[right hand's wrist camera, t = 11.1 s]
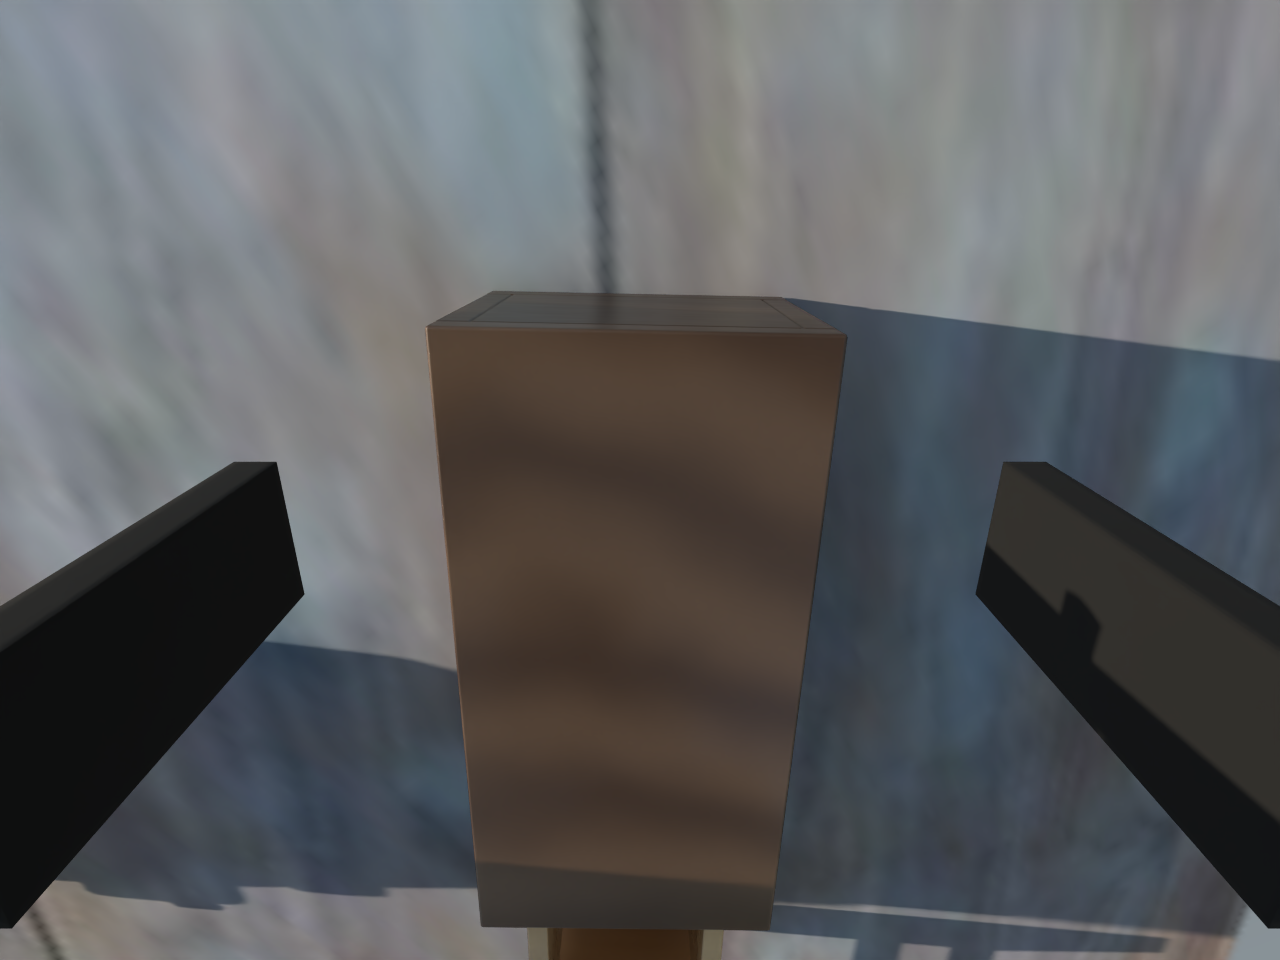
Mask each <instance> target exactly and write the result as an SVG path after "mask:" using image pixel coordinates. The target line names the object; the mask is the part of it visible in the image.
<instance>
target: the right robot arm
mask: <svg viewBox="0 0 1280 960" xmlns="http://www.w3.org/2000/svg"><path fill="white" fill-rule="evenodd" d="M303 595H304V590H303V585H302V580H301V576H300V571H299V566H298V561H297V557H296V552H295V547H294V542H293V538H292V533H291V528H290V523H289V519H288V514H287V509H286V505H285V500H284V495H283V490H282V486H281V481H280V476H279V471H278V467H277V462H233V463H232V464H230V465H228V466H227V467H225V468H223V469H222V470H220V471H219V472H217V473H215V474H214V475H212V476H210V477H209V478H207V479H206V480H204V481H202V482H201V483H199V484H198V485H196V486H194V487H193V488H191V489H189V490H188V491H186V492H185V493H183V494H181V495H180V496H178V497H176V498H175V499H173V500H172V501H170V502H168V503H167V504H165V505H164V506H162V507H160V508H159V509H157V510H155V511H154V512H152V513H151V514H149V515H147V516H146V517H144V518H142V519H141V520H139V521H138V522H136V523H134V524H133V525H131V526H130V527H128V528H126V529H125V530H123V531H121V532H120V533H118V534H117V535H115V536H113V537H112V538H110V539H108V540H107V541H105V542H104V543H102V544H100V545H99V546H97V547H96V548H94V549H92V550H91V551H89V552H87V553H86V554H84V555H83V556H81V557H79V558H78V559H76V560H74V561H73V562H71V563H70V564H68V565H66V566H65V567H63V568H62V569H60V570H58V571H57V572H55V573H53V574H52V575H50V576H49V577H47V578H45V579H44V580H42V581H40V582H39V583H37V584H36V585H34V586H32V587H31V588H29V589H28V590H26V591H24V592H23V593H21V594H19V595H18V596H16V597H15V598H13V599H11V600H10V601H8V602H6V603H5V604H3V605H2V606H0V928H13V926H14V925H15V924H16V923H17V922H18V921H19V920H20V918H21V917H22V916H23V915H24V914H25V913H26V912H27V911H28V909H29V908H30V907H31V906H32V905H33V904H34V903H35V901H36V900H37V899H38V898H39V897H40V896H41V895H42V893H43V892H44V891H45V890H46V889H47V888H48V887H49V885H50V884H51V883H52V882H53V881H54V880H55V879H56V877H57V876H58V875H59V874H60V873H61V872H62V871H63V869H64V868H65V867H66V866H67V865H68V864H69V863H70V861H71V860H72V859H73V858H74V857H75V856H76V855H77V853H78V852H79V851H80V850H81V849H82V848H83V847H84V845H85V844H86V843H87V842H88V841H89V840H90V839H91V837H92V836H93V835H94V834H95V833H96V832H97V831H98V829H99V828H100V827H101V826H102V825H103V824H104V823H105V821H106V820H107V819H108V818H109V817H110V816H111V815H112V813H113V812H114V811H115V810H116V809H117V808H118V807H119V805H120V804H121V803H122V802H123V801H124V800H125V799H126V797H127V796H128V795H129V794H130V793H131V792H132V791H133V789H134V788H135V787H136V786H137V785H138V784H139V783H140V781H141V780H142V779H143V778H144V777H145V776H146V775H147V773H148V772H149V771H150V770H151V769H152V768H153V767H154V766H155V764H156V763H157V762H158V761H159V760H160V759H161V758H162V756H163V755H164V754H165V753H166V752H167V751H168V750H169V748H170V747H171V746H172V745H173V744H174V743H175V742H176V740H177V739H178V738H179V737H180V736H181V735H182V734H183V732H184V731H185V730H186V729H187V728H188V727H189V726H190V724H191V723H192V722H193V721H194V720H195V719H196V718H197V716H198V715H199V714H200V713H201V712H202V711H203V710H204V708H205V707H206V706H207V705H208V704H209V703H210V702H211V700H212V699H213V698H214V697H215V696H216V695H217V694H218V692H219V691H220V690H221V689H222V688H223V687H224V686H225V684H226V683H227V682H228V681H229V680H230V679H231V678H232V676H233V675H234V674H235V673H236V672H237V671H238V670H239V668H240V667H241V666H242V665H243V664H244V663H245V662H246V660H247V659H248V658H249V657H250V656H251V655H252V654H253V652H254V651H255V650H256V649H257V648H258V647H259V646H260V644H261V643H262V642H263V641H264V640H265V639H266V638H267V636H268V635H269V634H270V633H271V632H272V631H273V630H274V629H275V627H276V626H277V625H278V624H279V623H280V622H281V621H282V619H283V618H284V617H285V616H286V615H287V614H288V613H289V611H290V610H291V609H292V608H293V607H294V606H295V605H296V603H297V602H298V601H299V600H300V599H301V598H302V597H303ZM976 595H977V597H978V598H979V599H980V600H981V601H982V602H983V603H984V605H985V606H986V607H987V608H988V609H989V610H990V611H991V613H992V614H993V615H994V616H995V617H996V618H997V619H998V621H999V622H1000V623H1001V624H1002V625H1003V626H1004V627H1005V629H1006V630H1007V631H1008V632H1009V633H1010V634H1011V635H1012V636H1013V638H1014V639H1015V640H1016V641H1017V642H1018V643H1019V644H1020V646H1021V647H1022V648H1023V649H1024V650H1025V651H1026V652H1027V654H1028V655H1029V656H1030V657H1031V658H1032V659H1033V660H1034V662H1035V663H1036V664H1037V665H1038V666H1039V667H1040V668H1041V670H1042V671H1043V672H1044V673H1045V674H1046V675H1047V676H1048V678H1049V679H1050V680H1051V681H1052V682H1053V683H1054V684H1055V686H1056V687H1057V688H1058V689H1059V690H1060V691H1061V692H1062V694H1063V695H1064V696H1065V697H1066V698H1067V699H1068V700H1069V702H1070V703H1071V704H1072V705H1073V706H1074V707H1075V708H1076V710H1077V711H1078V712H1079V713H1080V714H1081V715H1082V716H1083V718H1084V719H1085V720H1086V721H1087V722H1088V723H1089V724H1090V726H1091V727H1092V728H1093V729H1094V730H1095V731H1096V732H1097V734H1098V735H1099V736H1100V737H1101V738H1102V739H1103V740H1104V742H1105V743H1106V744H1107V745H1108V746H1109V747H1110V748H1111V750H1112V751H1113V752H1114V753H1115V754H1116V755H1117V756H1118V758H1119V759H1120V760H1121V761H1122V762H1123V763H1124V764H1125V766H1126V767H1127V768H1128V769H1129V770H1130V771H1131V772H1132V773H1133V775H1134V776H1135V777H1136V778H1137V779H1138V780H1139V781H1140V783H1141V784H1142V785H1143V786H1144V787H1145V788H1146V789H1147V791H1148V792H1149V793H1150V794H1151V795H1152V796H1153V797H1154V799H1155V800H1156V801H1157V802H1158V803H1159V804H1160V805H1161V807H1162V808H1163V809H1164V810H1165V811H1166V812H1167V813H1168V815H1169V816H1170V817H1171V818H1172V819H1173V820H1174V821H1175V823H1176V824H1177V825H1178V826H1179V827H1180V828H1181V829H1182V831H1183V832H1184V833H1185V834H1186V835H1187V836H1188V837H1189V839H1190V840H1191V841H1192V842H1193V843H1194V844H1195V845H1196V847H1197V848H1198V849H1199V850H1200V851H1201V852H1202V853H1203V855H1204V856H1205V857H1206V858H1207V859H1208V860H1209V861H1210V863H1211V864H1212V865H1213V866H1214V867H1215V868H1216V869H1217V871H1218V872H1219V873H1220V874H1221V875H1222V876H1223V877H1224V879H1225V880H1226V881H1227V882H1228V883H1229V884H1230V885H1231V887H1232V888H1233V889H1234V890H1235V891H1236V892H1237V893H1238V895H1239V896H1240V897H1241V898H1242V899H1243V900H1244V901H1245V903H1246V904H1247V905H1248V906H1249V907H1250V908H1251V909H1252V911H1253V912H1254V913H1255V914H1256V915H1257V916H1258V917H1259V918H1260V920H1261V921H1262V922H1263V923H1264V924H1265V925H1266V926H1267V928H1280V606H1278V605H1277V604H1275V603H1274V602H1272V601H1270V600H1269V599H1267V598H1265V597H1264V596H1262V595H1261V594H1259V593H1257V592H1256V591H1254V590H1252V589H1251V588H1249V587H1248V586H1246V585H1244V584H1243V583H1241V582H1240V581H1238V580H1236V579H1235V578H1233V577H1231V576H1230V575H1228V574H1227V573H1225V572H1223V571H1222V570H1220V569H1218V568H1217V567H1215V566H1214V565H1212V564H1210V563H1209V562H1207V561H1206V560H1204V559H1202V558H1201V557H1199V556H1197V555H1196V554H1194V553H1193V552H1191V551H1189V550H1188V549H1186V548H1184V547H1183V546H1181V545H1180V544H1178V543H1176V542H1175V541H1173V540H1172V539H1170V538H1168V537H1167V536H1165V535H1163V534H1162V533H1160V532H1159V531H1157V530H1155V529H1154V528H1152V527H1150V526H1149V525H1147V524H1146V523H1144V522H1142V521H1141V520H1139V519H1138V518H1136V517H1134V516H1133V515H1131V514H1129V513H1128V512H1126V511H1125V510H1123V509H1121V508H1120V507H1118V506H1116V505H1115V504H1113V503H1112V502H1110V501H1108V500H1107V499H1105V498H1104V497H1102V496H1100V495H1099V494H1097V493H1095V492H1094V491H1092V490H1091V489H1089V488H1087V487H1086V486H1084V485H1082V484H1081V483H1079V482H1078V481H1076V480H1074V479H1073V478H1071V477H1070V476H1068V475H1066V474H1065V473H1063V472H1061V471H1060V470H1058V469H1057V468H1055V467H1053V466H1052V465H1050V464H1048V463H1047V462H1003V467H1002V471H1001V476H1000V481H999V486H998V490H997V495H996V500H995V505H994V509H993V514H992V519H991V523H990V528H989V533H988V538H987V542H986V547H985V552H984V557H983V561H982V566H981V571H980V576H979V580H978V585H977V590H976Z"/></svg>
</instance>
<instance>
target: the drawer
mask: <svg viewBox="0 0 1280 960" xmlns="http://www.w3.org/2000/svg"><path fill="white" fill-rule="evenodd" d="M527 933H528V950H529V960H721V955H722V944H723V934H724V930H681V929H598V928H527Z"/></svg>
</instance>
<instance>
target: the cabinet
mask: <svg viewBox="0 0 1280 960" xmlns="http://www.w3.org/2000/svg"><path fill="white" fill-rule="evenodd" d="M425 332H426V343H427V353H428V364H429V375H430V385H431V396H432V407H433V417H434V428H435V439H436V450H437V460H438V471H439V482H440V492H441V503H442V514H443V524H444V535H445V546H446V557H447V567H448V578H449V589H450V599H451V610H452V621H453V631H454V642H455V653H456V663H457V674H458V685H459V696H460V706H461V717H462V728H463V738H464V749H465V760H466V770H467V781H468V792H469V803H470V813H471V824H472V835H473V845H474V856H475V867H476V877H477V888H478V899H479V910H480V920H481V926H482V927H514V928H598V929H681V930H765V931H768V930H769V929H770V924H771V916H772V909H773V901H774V893H775V886H776V878H777V870H778V863H779V855H780V848H781V840H782V832H783V825H784V817H785V809H786V802H787V794H788V787H789V779H790V771H791V764H792V756H793V748H794V741H795V733H796V726H797V718H798V710H799V703H800V695H801V687H802V680H803V672H804V665H805V657H806V649H807V642H808V634H809V626H810V619H811V611H812V603H813V596H814V588H815V581H816V573H817V565H818V558H819V550H820V542H821V535H822V527H823V520H824V512H825V504H826V497H827V489H828V481H829V474H830V466H831V459H832V451H833V443H834V436H835V428H836V420H837V413H838V405H839V398H840V390H841V382H842V375H843V367H844V359H845V352H846V344H847V335H846V334H844V333H842V332H840V331H839V330H837V329H836V328H834V327H832V326H830V325H829V324H827V323H825V322H823V321H822V320H820V319H818V318H816V317H815V316H813V315H811V314H809V313H808V312H806V311H804V310H802V309H801V308H799V307H797V306H795V305H794V304H792V303H790V302H788V301H787V300H785V299H784V298H782V297H749V296H702V295H654V294H607V293H559V292H512V291H492V292H490V293H488V294H487V295H485V296H483V297H481V298H479V299H477V300H475V301H473V302H471V303H470V304H468V305H466V306H464V307H462V308H460V309H458V310H456V311H454V312H452V313H450V314H448V315H447V316H445V317H443V318H441V319H439V320H437V321H436V322H433V323H432V324H430V325H428V326H426V328H425Z"/></svg>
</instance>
